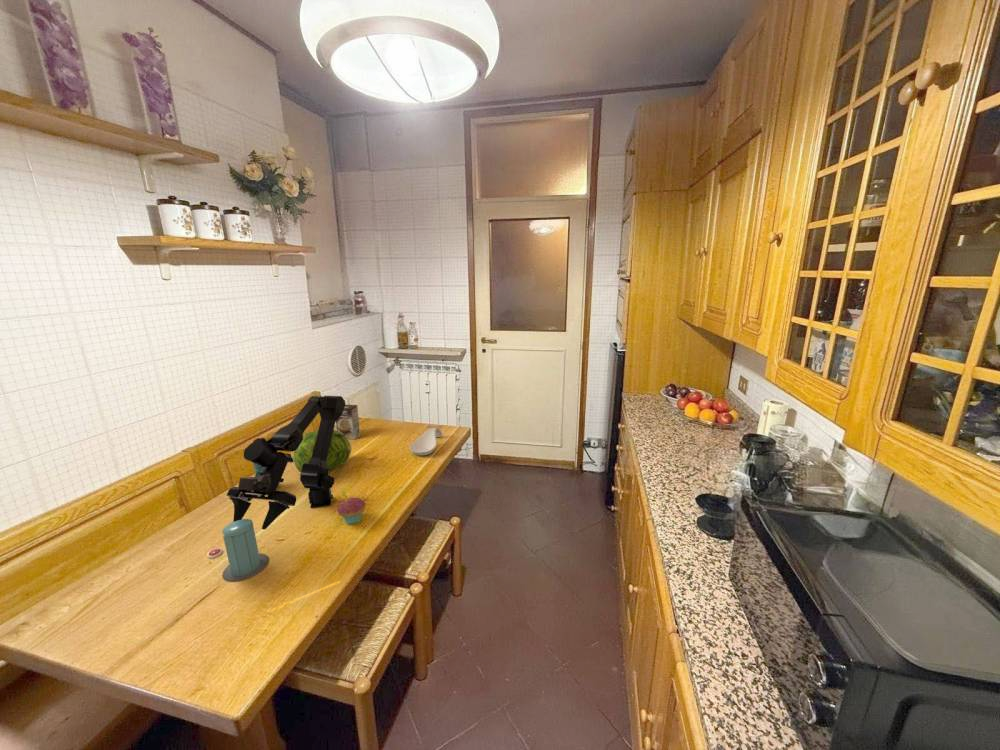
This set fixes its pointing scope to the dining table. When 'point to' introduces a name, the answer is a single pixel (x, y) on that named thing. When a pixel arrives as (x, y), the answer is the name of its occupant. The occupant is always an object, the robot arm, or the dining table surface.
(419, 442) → the spoon rest
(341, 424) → the coffee box
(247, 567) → the blue-grey tall faceted cylinder
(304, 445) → the lettuce
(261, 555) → the disc
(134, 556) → the dining table surface
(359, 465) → the dining table surface
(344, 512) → the cupcake
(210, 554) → the dip bowl
